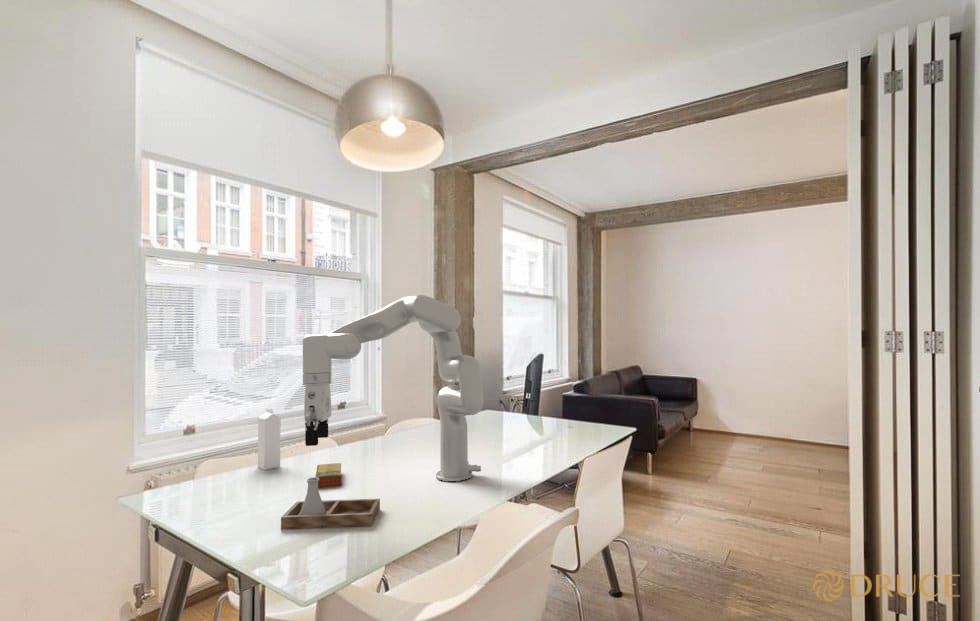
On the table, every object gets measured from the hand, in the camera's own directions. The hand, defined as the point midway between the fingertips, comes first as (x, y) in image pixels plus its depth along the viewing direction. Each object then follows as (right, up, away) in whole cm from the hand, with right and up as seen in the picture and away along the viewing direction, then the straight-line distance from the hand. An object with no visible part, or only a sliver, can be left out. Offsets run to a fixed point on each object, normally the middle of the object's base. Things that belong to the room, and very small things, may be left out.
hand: (317, 441), depth 132 cm
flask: (0, -20, -3) cm, 20 cm away
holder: (+5, -20, -3) cm, 21 cm away
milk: (-37, -24, +51) cm, 67 cm away
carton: (-8, -23, +32) cm, 41 cm away
